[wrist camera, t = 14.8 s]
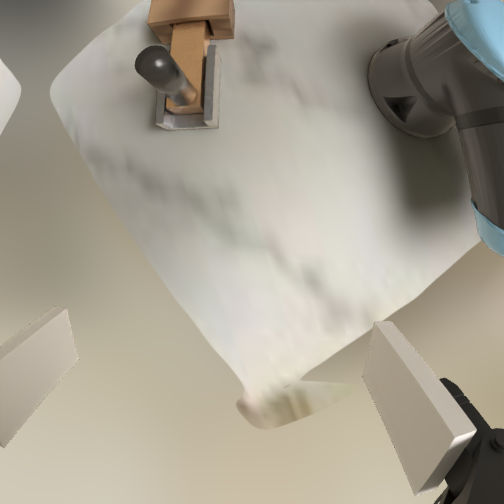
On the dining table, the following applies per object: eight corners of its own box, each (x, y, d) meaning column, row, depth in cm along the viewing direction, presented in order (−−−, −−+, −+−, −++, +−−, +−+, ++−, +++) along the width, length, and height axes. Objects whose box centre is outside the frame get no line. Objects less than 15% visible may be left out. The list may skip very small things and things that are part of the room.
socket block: (234, 11, 32) (230, -15, 25) (233, 38, 33) (228, 14, 26) (166, 18, 32) (152, -5, 25) (163, 44, 33) (147, 23, 27)
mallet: (211, 16, 31) (190, -49, 16) (206, 112, 34) (173, 73, 20) (183, 19, 31) (150, -42, 17) (175, 114, 35) (127, 80, 20)
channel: (220, 59, 34) (215, 44, 29) (218, 128, 36) (212, 120, 31) (172, 63, 34) (161, 50, 29) (167, 130, 36) (155, 124, 32)
